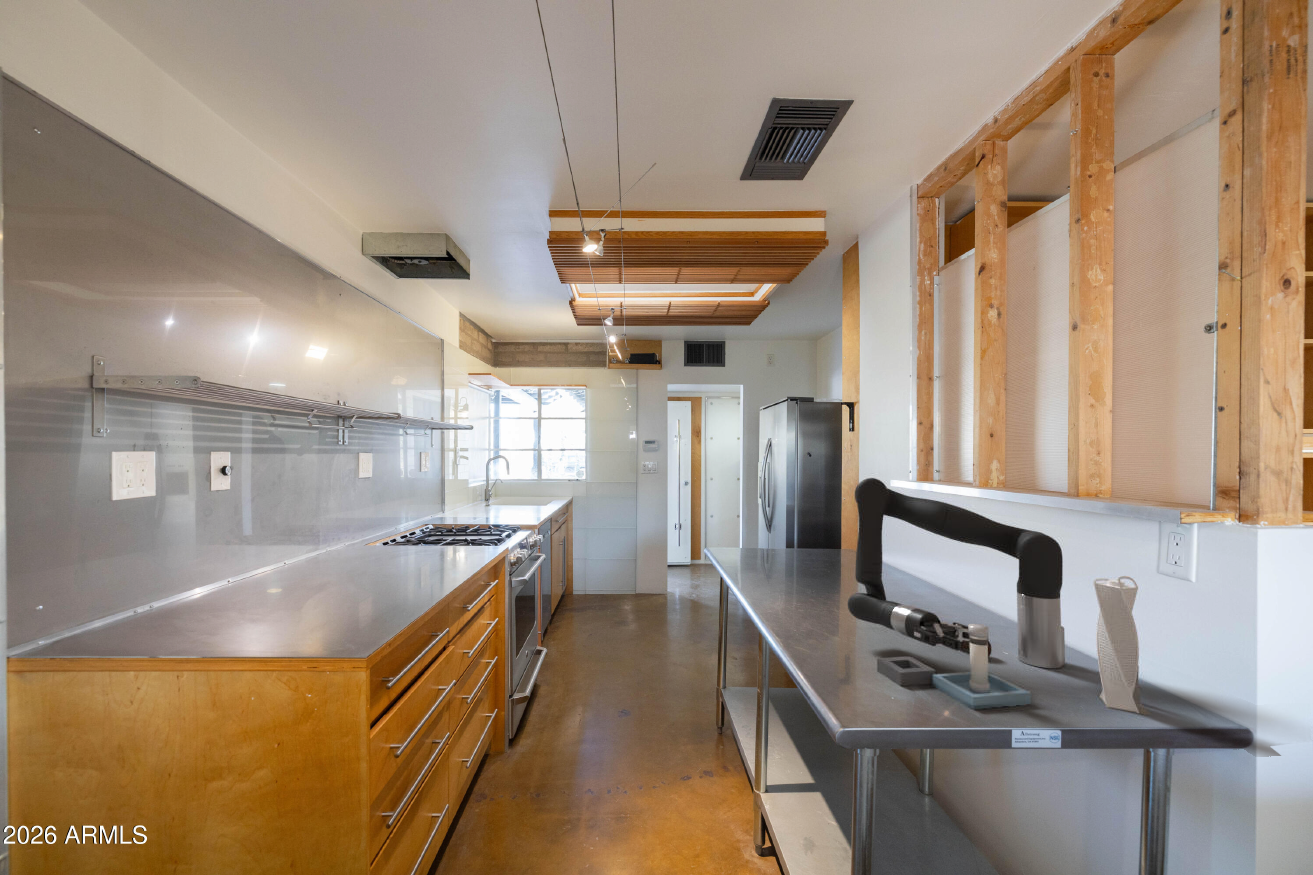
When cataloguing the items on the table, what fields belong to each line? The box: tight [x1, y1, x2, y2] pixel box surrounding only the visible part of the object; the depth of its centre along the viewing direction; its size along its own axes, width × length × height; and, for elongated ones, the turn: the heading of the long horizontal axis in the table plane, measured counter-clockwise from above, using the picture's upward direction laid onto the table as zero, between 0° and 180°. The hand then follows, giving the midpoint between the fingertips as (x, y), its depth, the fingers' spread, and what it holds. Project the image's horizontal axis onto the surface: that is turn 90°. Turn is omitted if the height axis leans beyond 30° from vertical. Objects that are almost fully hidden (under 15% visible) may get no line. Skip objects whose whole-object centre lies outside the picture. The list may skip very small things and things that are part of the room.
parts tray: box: [932, 671, 1031, 710], centre depth 118 cm, size 14×12×2 cm
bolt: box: [955, 635, 992, 658], centre depth 147 cm, size 6×5×15 cm
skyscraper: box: [1093, 575, 1152, 716], centre depth 114 cm, size 8×8×28 cm
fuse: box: [967, 623, 990, 694], centre depth 118 cm, size 4×4×14 cm
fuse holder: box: [876, 655, 936, 687], centre depth 127 cm, size 9×9×3 cm
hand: (973, 643), depth 119 cm, fingers open, 8 cm apart
